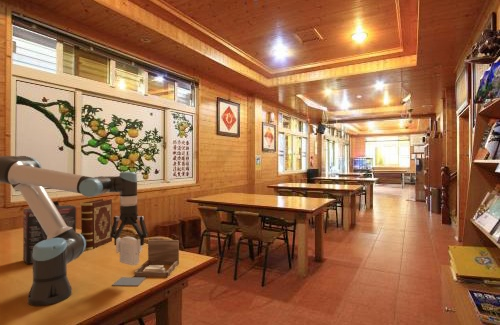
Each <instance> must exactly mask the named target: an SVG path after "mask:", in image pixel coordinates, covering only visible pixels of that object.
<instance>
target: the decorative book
mask: <svg viewBox="0 0 500 325" xmlns="http://www.w3.org/2000/svg"><path fill="white" fill-rule="evenodd" d="M79 204H80V208H81V209H80V212H79V213H80V215H81V217H80V220H81V224H80V225H81V228H80V229H81V232H80V234H81V235H82V236H83V237H84V238H85V241H86V247H85V250H84V251H88V250H89V251H90V250H93V249H96V248H98V247H100V246H103V245H105V244H109V243H110V242H112V241H113V238H112V237H110V234H111V230H112V227H113V198H110V199H106V200H104V198H101V199H95V200H90V201H85V202H80V203H79Z"/></svg>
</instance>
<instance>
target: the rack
mask: <svg viewBox="0 0 500 325" xmlns="http://www.w3.org/2000/svg"><path fill="white" fill-rule="evenodd" d="M179 244H180V241H179V240H178V239H148V240H147V260H146V261H145V262H144V263H143V264H141V265H140V266H139V267H138V268H137V269H136V270H135V271H134V273H133V274H134V276H133V277H146V278H167V277H166V276H169V277H170V276H171V274H172V273H173V272H174V270H176V268H177V267H178V266H179V264H180V245H179ZM149 264H150V265H171V266H170V267H169V268H168V269H167V270H166V272H143V270H144V269H145V267H148V265H149ZM176 266H177V267H176ZM175 267H176V268H175ZM172 271H173V272H172ZM171 272H172V273H171ZM170 273H171V274H170ZM164 276H165V277H164Z"/></svg>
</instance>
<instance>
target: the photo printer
mask: <svg viewBox="0 0 500 325" xmlns="http://www.w3.org/2000/svg"><path fill="white" fill-rule="evenodd" d="M119 263H122V264H125V265H128V266H129V265H130V266H137V265H139V263H140V253H138V239H137V238H135V237H133V236H123V237H120V252H119Z"/></svg>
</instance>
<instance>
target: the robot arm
mask: <svg viewBox="0 0 500 325" xmlns="http://www.w3.org/2000/svg"><path fill="white" fill-rule="evenodd" d="M0 183H1V184H9V185H11V187H12V189H13V190H14V191H18V192H20V193H21V195H22V197H23V198H24V200H25V202H26V203H27V205H28V207H29V209H31V210H32V212H33V213H34V215H35V217H36V218H37V220H38V222H39V223H40V225H41V227H42V228H43V230H44V232H45V233H46V235H47V240H43V241H41V242H39V243H37V244H36V245H35V246H34V248H33V253H32V257H33V263H32V285H31V287H30V290H29V293H28V296H27V304H28V305H29V306H32V307H33V306H34V307H43V306H44V307H45V306H50V305H53V304H56V303H60V302H62V301H64V300H66V299H68V298H69V297H70V296H71V295H72V294H73V292H72V289H73V288H72V286H71V284H70V281H69V280H70V279H68V276H67V273H68V272H67V271H68V269H67V266H68V265H67V264H69V263H71V262H72V261H74V260H76V259H78V258H79V257H80V256H81V255H82V254H83V253H84V252H85V251H86V250H85V247H86V241H85V238H84V237H83V236H82V234H81V233H78V232H77V231H76V232H75V231H74V229H73V228H72V227H68V226H67V225H66V223H65V221H64V220H63V218H62V216H61V215H60V213H59V211H58V210H57V208H56V207H55V205H54V203H53V199H52V198H51V196H50V195H49V193H48V192H47V190H46V188H47V189H53V190H58V191H64V192H65V191H66V192H71V193H74V194H75V193H76V194H81V195H82V196H84V197H87V198H91V197H92V198H93V197H97V196H99V195H103V194H106V193H107V194H108V193H109V194H110V193H119V204H120V206H119V208H120V209H119V213H120V215H119V216H118V215H115V216H114V217H112V220H113V222H112V230H111V234H110V237H112V239H114V240H113V242H114V246H115V250H116V251H115V252H116V254H120V239H121V237H120V235H121V234H122V231H123V230H124V228H125V226H127V225H130V226H132V227H133V228H134V230H135V233H136V234H137V235H138V237H139V238H138V239H137V240H138V253H139V254H140V253H142V252H143V246H144V245H145V238H147V237H148V236H149V232H148V229H147V227H146V226H147V225H146V223H145V215H142V216H141V215H138V176H137V173H136V172H135V171H121V172H119V175H118V176H117V175H115V176H113V175H112V176H110V175H109V176H102V175H101V176H94V177H91V176H86V175H81V174H75V173H70V172H65V171H58V170H53V169H46V168H43V167H42V165H41V163H40V162H39V161H38V160H37V159H36V158H34V157H31V156H27V155H14V156H13V155H1V156H0ZM137 220H138V221H139V223H138V221H137ZM120 221H121V223H120V225H119V222H120ZM118 226H119V227H118Z"/></svg>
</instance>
